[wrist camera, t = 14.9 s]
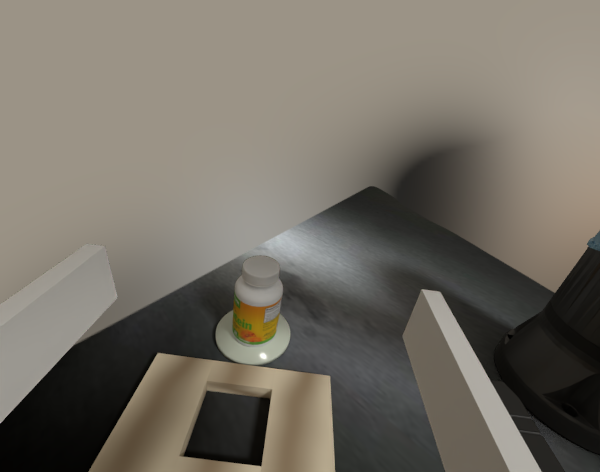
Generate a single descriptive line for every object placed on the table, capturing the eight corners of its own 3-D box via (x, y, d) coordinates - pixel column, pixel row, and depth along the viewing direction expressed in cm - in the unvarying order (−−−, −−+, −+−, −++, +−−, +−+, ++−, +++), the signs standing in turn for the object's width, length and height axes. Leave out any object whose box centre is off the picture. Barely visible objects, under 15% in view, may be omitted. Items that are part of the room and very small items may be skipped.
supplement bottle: (222, 329, 35) (224, 262, 30) (256, 308, 39) (262, 246, 34) (252, 357, 32) (259, 288, 27) (285, 332, 36) (296, 268, 31)
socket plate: (327, 385, 31) (329, 375, 30) (333, 523, 21) (337, 514, 20) (159, 362, 30) (157, 352, 30) (86, 493, 21) (81, 483, 20)
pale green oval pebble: (292, 313, 40) (292, 310, 39) (286, 371, 32) (287, 367, 31) (227, 304, 39) (227, 301, 39) (204, 360, 31) (204, 356, 31)
